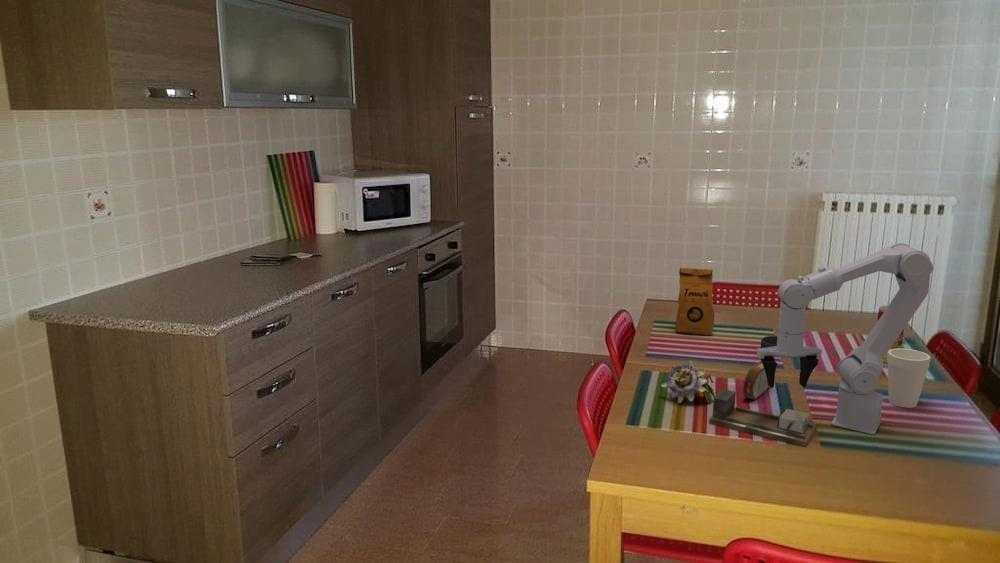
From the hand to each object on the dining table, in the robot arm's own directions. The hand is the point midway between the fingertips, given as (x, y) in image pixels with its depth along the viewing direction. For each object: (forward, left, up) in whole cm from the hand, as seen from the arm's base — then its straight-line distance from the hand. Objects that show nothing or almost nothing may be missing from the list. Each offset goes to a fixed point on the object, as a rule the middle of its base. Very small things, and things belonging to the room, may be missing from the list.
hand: (786, 385), depth 175 cm
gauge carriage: (-3, +7, -8) cm, 11 cm away
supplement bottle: (-13, -58, -9) cm, 60 cm away
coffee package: (+44, -57, -9) cm, 72 cm away
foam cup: (-22, -29, -9) cm, 37 cm away
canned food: (-11, -82, -9) cm, 83 cm away
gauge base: (+3, +6, -9) cm, 11 cm away
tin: (+10, -14, -9) cm, 19 cm away
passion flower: (+24, -1, -9) cm, 26 cm away
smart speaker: (+16, -52, -10) cm, 55 cm away
